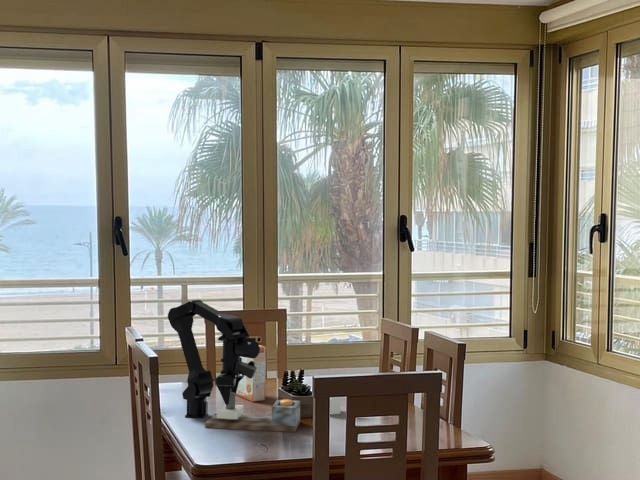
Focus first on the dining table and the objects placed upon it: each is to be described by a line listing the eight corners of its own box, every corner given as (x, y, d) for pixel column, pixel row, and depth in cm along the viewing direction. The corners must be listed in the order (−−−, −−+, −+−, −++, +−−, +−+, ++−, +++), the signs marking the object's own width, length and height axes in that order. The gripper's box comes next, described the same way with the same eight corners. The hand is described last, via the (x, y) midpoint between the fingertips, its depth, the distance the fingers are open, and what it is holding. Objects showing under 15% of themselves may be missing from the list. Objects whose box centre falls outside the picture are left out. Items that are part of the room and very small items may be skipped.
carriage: (216, 418, 233) (217, 396, 233) (223, 411, 242) (223, 389, 242) (237, 419, 232) (237, 396, 232) (243, 412, 241) (243, 390, 241)
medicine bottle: (314, 411, 255) (315, 378, 255) (332, 409, 258) (333, 376, 258) (322, 416, 249) (323, 382, 249) (340, 414, 252) (341, 380, 251)
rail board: (205, 427, 232) (205, 404, 232) (214, 417, 244) (214, 396, 244) (295, 431, 228) (295, 408, 228) (300, 421, 240) (300, 400, 240)
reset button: (279, 408, 233) (279, 402, 233) (281, 405, 237) (281, 399, 237) (291, 408, 233) (291, 402, 233) (293, 405, 237) (293, 399, 237)
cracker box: (266, 400, 270) (266, 346, 270) (252, 402, 266) (253, 347, 266) (248, 393, 281) (249, 341, 281) (234, 395, 278) (235, 342, 278)
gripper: (248, 360, 227) (247, 409, 227) (260, 351, 245) (259, 395, 245) (215, 359, 228) (214, 407, 228) (228, 349, 246) (228, 394, 247)
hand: (230, 401), depth 237 cm, fingers open, 9 cm apart
